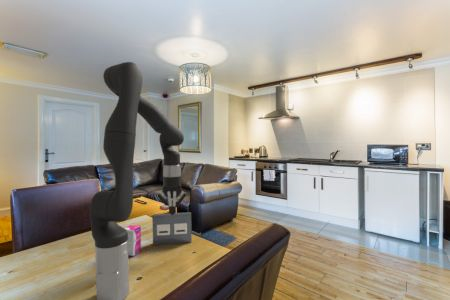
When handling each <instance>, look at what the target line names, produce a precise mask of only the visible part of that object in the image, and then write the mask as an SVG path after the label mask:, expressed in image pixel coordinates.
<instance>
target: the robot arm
mask: <svg viewBox="0 0 450 300" xmlns="http://www.w3.org/2000/svg"><path fill="white" fill-rule="evenodd" d="M102 76H103V82H104V83H105V85H106V87H108V89H109V90H110V91H111V92H112V93H113V94H115V95H116V96H117V97H118V100H117V102H116V105H115V108H114V110H112V113H111V114H110V116H109V118H108V120H107V122H106V125H105V128H104V133H103V134H104V135H103V136H104V137H103V147H102V148H103V152H104V155H105V156H106V159H107V161H108V162H109V165H110V167H111V169H112V171H113V174H114V184H115V186H114V190H99V191H97V192H96V193H94V195H93V197H92V199H91V201H90V205H89V217H90V219H89V220H90V226H91V227H90V228H91V236H92V239H93V240H94V252H95V255H94V256H95V257H94V258H95V261H94V263H95V287H96V289H95V290H96V300H125V299H126V298H127V297H128V296H129V294H130V274H129V273H130V269H129V257H128V232H127V230H126V229H124V228H125V227H122V226H121V225H119V224H118V223H117V222H121V223H122V222H126V221H127V220H128V219H129V218H130V216H131V214H132V212H133V206H134V182H133V181H134V179H133V178H134V177H133V176H134V175H133V174H134V155H135V148H136V133H137V120H138V115H139V116H140V117H141V118H143V119H144V120H145V122H147V124H148V125H149V127H151V129H153V130H154V132H156V133H157V134H159V139H158V140H159V143H160V148H161V152H162V155H163V170H162V174H163V175H162V180H163V182H162V183H163V185H162V187H163V188H162V191H161V192H160V193H158V194H157V198H159V200H160V202H162V204H164V206H168V213H169V214H171V215H174V214H175V213H177V212H176V211H177V206H180V204H181V203H182V202H183V200H184V199H185V198H186V197H187V194H188V193H187V192H185V191H183V188H182V170H181V169H182V168H181V153H180V152H179V151H177V150H176V151H175V149H174V148H173V147H178V146H181V145H182V144H183V143H184V141H185V140H184V139H185V137H184V134H183V133H184V132H182V130H181V129H180V128H179V127H178V126H176V125H175V124H174V123H173V122H171V121H170V120H169V119H168V118H167V116H165V114H164V113H163V112H162V111H161V110H160V109H159V108H158V106H157V105H155V104H153V103H152V102H150V101H148V100H147V99H145V98H144V97H142V96H141V93H142V88H143V74H142V71H141V69H140V68H139V66H138V64H136V63H134V62H132V61H125V62H121V63H118V64H114V65H111V66H108V67H107V68H105V70H104V72H103V75H102ZM179 196H181V197H180V198H179V199H177V198H178V197H179ZM165 197H166V198H165Z"/></svg>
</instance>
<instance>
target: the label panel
mask: <svg viewBox="0 0 450 300" xmlns="http://www.w3.org/2000/svg"><path fill="white" fill-rule="evenodd" d="M151 216H152V219H151V220H152V246H153V245H154V246H156V245H170V244H173V245H174V244H185V243H186V244H187V243H192V237H193V236H192V212H190V211H188V212H176V213H175V214H174V215H171V214H169V212H168V213H153V214H152V215H151Z"/></svg>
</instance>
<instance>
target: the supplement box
mask: <svg viewBox="0 0 450 300" xmlns="http://www.w3.org/2000/svg"><path fill="white" fill-rule="evenodd" d="M141 227H142V226H141V225H132V224H129V225H128V226H126V227H123V228H124V229H126V230H127V232H128V258H129V257H130V258H134V257H135V256H136V255H138V253H140V252H142V251H141V250H142V237H141V236H142V228H141Z"/></svg>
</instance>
